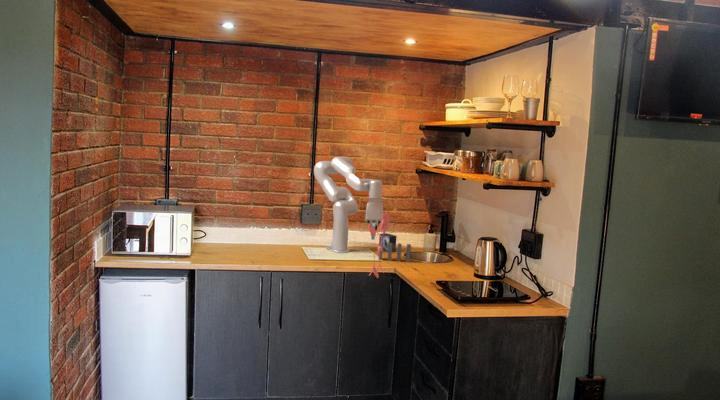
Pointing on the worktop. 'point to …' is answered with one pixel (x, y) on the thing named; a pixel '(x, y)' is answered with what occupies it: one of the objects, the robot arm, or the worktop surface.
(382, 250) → the domino
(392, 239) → the small box
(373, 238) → the domino
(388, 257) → the domino
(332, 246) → the robot arm
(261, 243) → the worktop surface
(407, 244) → the domino
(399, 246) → the domino
